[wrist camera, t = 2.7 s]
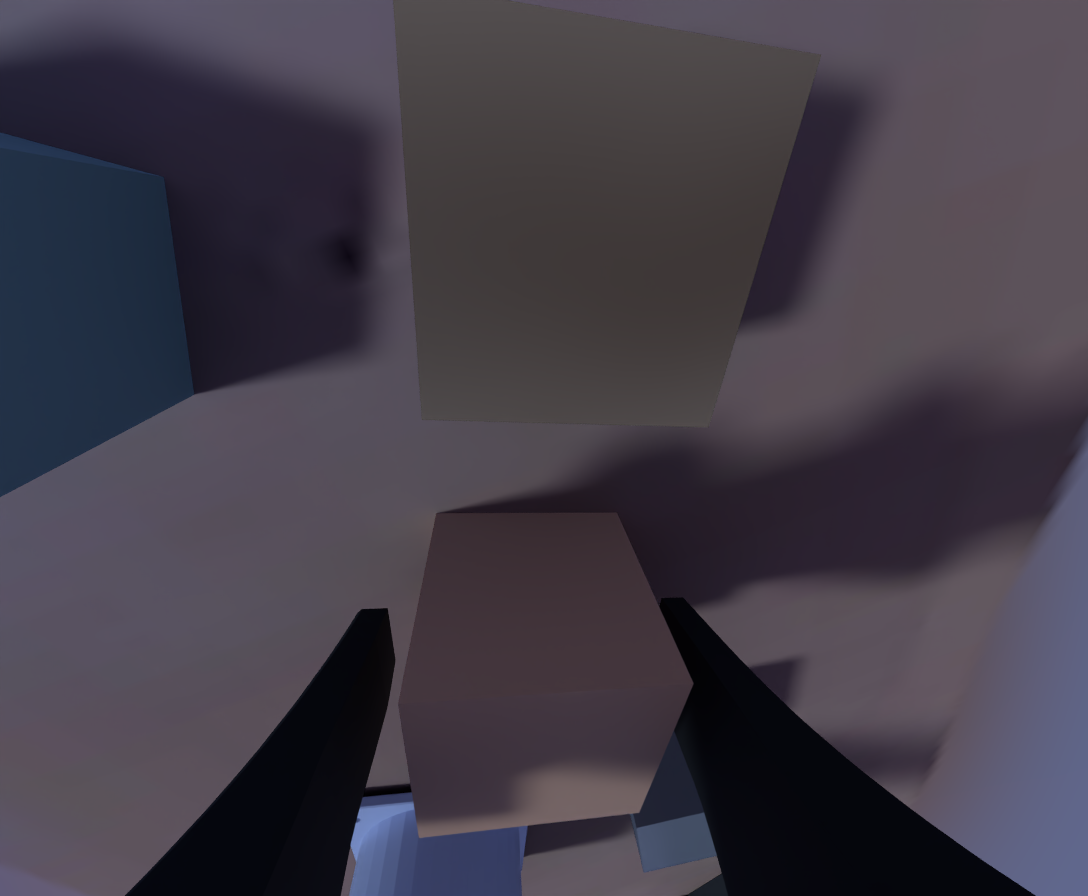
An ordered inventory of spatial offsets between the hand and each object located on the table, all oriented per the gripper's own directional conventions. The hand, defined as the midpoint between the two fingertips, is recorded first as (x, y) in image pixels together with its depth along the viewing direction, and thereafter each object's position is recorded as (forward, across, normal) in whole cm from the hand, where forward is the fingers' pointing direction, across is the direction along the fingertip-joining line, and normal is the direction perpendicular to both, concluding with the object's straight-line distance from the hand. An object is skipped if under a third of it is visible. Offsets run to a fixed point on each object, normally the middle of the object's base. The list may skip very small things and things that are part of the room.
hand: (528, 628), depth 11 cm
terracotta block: (+2, 0, 0) cm, 2 cm away
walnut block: (+2, 0, -9) cm, 9 cm away
